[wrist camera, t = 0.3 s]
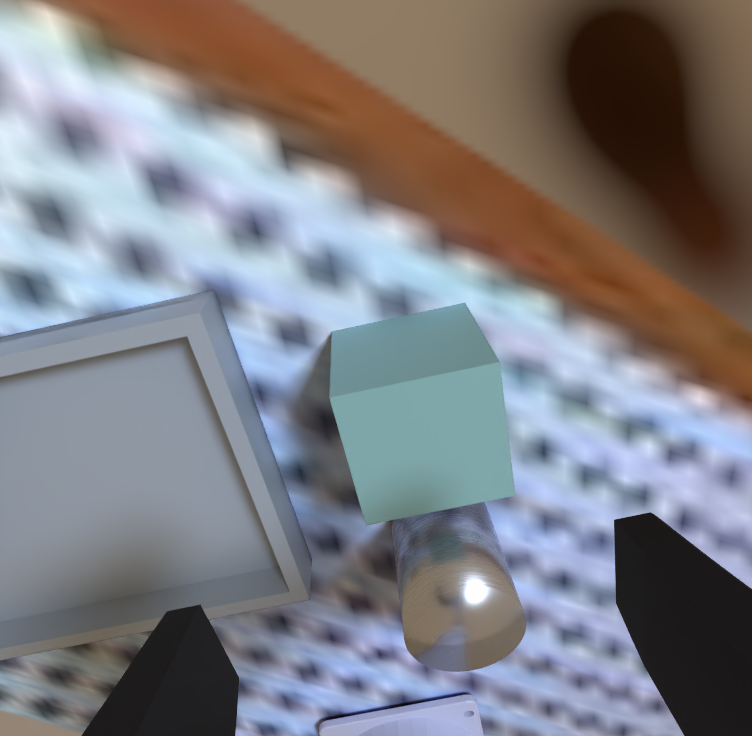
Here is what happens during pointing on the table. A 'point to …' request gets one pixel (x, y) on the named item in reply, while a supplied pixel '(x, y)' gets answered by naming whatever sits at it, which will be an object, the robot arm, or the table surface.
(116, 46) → the table surface
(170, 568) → the tray
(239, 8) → the table surface
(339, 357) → the teal block
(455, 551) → the cylinder
